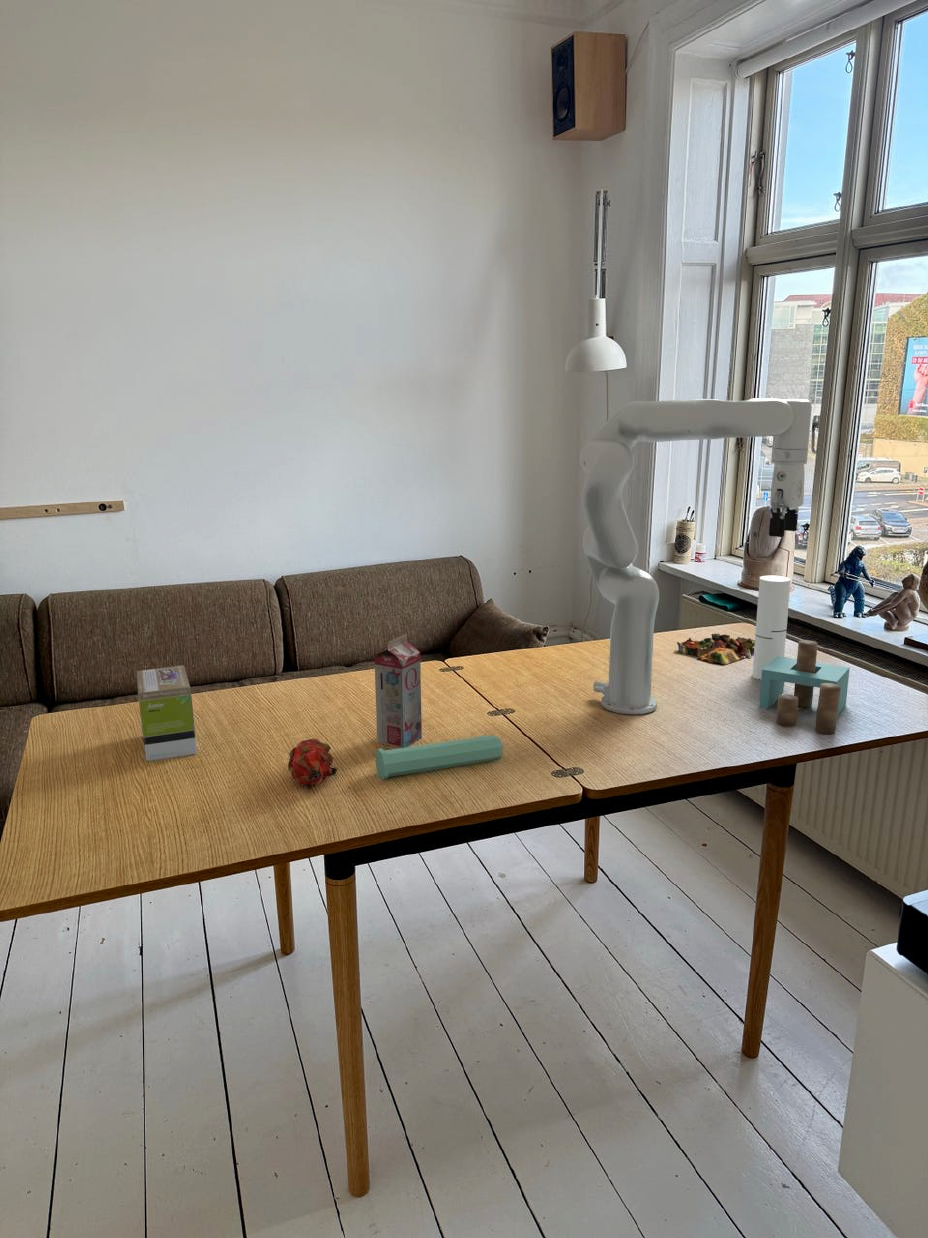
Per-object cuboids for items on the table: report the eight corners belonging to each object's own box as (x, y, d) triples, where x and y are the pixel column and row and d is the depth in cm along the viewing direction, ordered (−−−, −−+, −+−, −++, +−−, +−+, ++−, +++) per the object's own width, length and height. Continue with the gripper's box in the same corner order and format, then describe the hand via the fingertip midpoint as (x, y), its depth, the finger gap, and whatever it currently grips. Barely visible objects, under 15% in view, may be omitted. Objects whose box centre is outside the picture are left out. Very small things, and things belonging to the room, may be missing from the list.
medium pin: (811, 731, 195) (817, 686, 192) (818, 726, 198) (824, 681, 195) (831, 736, 193) (836, 690, 190) (837, 730, 196) (843, 686, 193)
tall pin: (790, 707, 209) (796, 643, 206) (795, 702, 213) (801, 639, 209) (809, 710, 207) (815, 646, 204) (813, 705, 211) (819, 642, 207)
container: (498, 725, 184) (377, 742, 174) (509, 745, 179) (386, 764, 170) (493, 747, 187) (374, 765, 178) (504, 767, 183) (382, 787, 173)
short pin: (774, 724, 199) (776, 698, 198) (779, 719, 202) (781, 693, 201) (793, 728, 197) (795, 701, 195) (798, 722, 200) (800, 696, 199)
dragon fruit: (312, 774, 180) (320, 809, 169) (275, 756, 176) (280, 790, 165) (337, 740, 178) (347, 773, 168) (300, 721, 175) (307, 754, 164)
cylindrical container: (786, 681, 227) (794, 581, 221) (756, 681, 227) (764, 581, 221) (777, 672, 234) (785, 575, 228) (748, 672, 234) (756, 575, 228)
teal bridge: (759, 707, 210) (762, 669, 207) (774, 692, 219) (777, 656, 217) (832, 721, 201) (836, 681, 199) (845, 705, 210) (849, 667, 208)
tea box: (142, 736, 196) (135, 669, 192) (191, 729, 199) (185, 663, 195) (145, 762, 182) (137, 691, 178) (198, 755, 185) (192, 685, 182)
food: (715, 639, 266) (716, 627, 265) (773, 654, 252) (774, 641, 251) (667, 653, 252) (668, 641, 251) (725, 670, 238) (726, 657, 237)
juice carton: (421, 737, 193) (419, 636, 188) (403, 748, 188) (401, 644, 182) (395, 732, 196) (392, 632, 191) (377, 742, 191) (373, 639, 185)
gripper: (795, 460, 196) (788, 540, 200) (817, 454, 209) (810, 529, 214) (759, 458, 200) (753, 537, 204) (783, 453, 214) (777, 527, 218)
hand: (782, 533), depth 209 cm, fingers open, 9 cm apart
